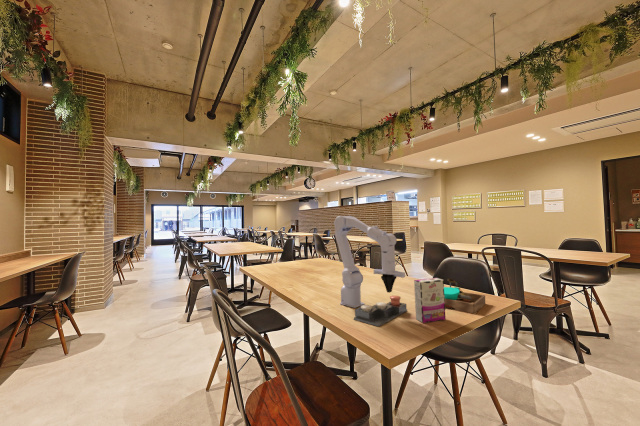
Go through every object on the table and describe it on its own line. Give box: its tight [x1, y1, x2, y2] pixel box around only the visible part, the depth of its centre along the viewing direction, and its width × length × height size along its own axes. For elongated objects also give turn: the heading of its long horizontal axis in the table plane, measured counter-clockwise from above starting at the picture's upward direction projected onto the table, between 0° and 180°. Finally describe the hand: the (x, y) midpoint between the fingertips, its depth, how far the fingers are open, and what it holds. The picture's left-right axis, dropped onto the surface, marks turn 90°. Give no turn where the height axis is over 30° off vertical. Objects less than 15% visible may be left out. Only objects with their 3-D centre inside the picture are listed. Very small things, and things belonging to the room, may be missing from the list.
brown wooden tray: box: [444, 291, 486, 314], centre depth 131 cm, size 22×18×4 cm
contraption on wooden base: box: [444, 278, 472, 310], centre depth 131 cm, size 14×18×15 cm
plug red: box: [389, 295, 401, 306], centre depth 121 cm, size 5×5×4 cm
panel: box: [353, 301, 408, 328], centre depth 118 cm, size 13×24×4 cm, turn 137°
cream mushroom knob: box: [360, 304, 373, 312], centre depth 115 cm, size 5×5×4 cm
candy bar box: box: [413, 277, 446, 324], centre depth 112 cm, size 11×5×16 cm, turn 105°
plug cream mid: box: [375, 301, 387, 309], centre depth 118 cm, size 5×5×4 cm
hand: (389, 291), depth 120 cm, fingers closed
